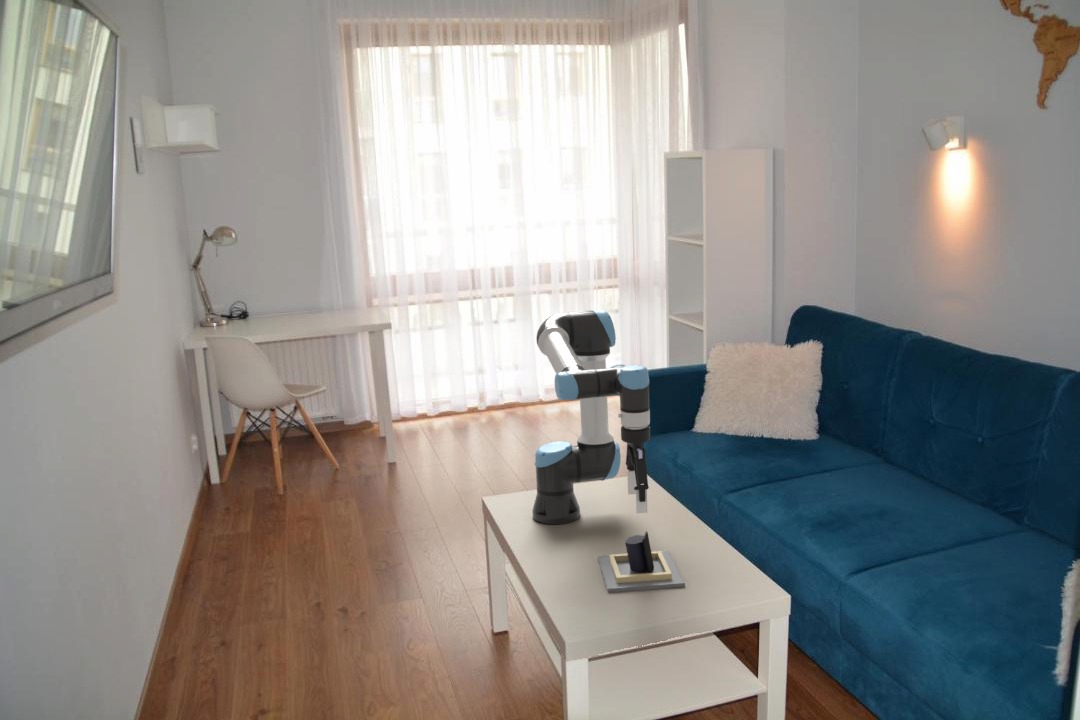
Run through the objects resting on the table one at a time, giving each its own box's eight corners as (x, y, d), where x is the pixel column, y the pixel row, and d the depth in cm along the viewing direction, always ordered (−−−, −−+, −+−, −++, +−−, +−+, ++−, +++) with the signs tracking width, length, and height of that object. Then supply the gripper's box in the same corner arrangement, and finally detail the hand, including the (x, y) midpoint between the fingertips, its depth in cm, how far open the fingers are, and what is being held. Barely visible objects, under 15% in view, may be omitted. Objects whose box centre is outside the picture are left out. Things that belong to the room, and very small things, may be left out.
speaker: (661, 567, 231) (655, 531, 229) (650, 576, 226) (644, 539, 224) (637, 563, 235) (631, 528, 233) (626, 572, 231) (620, 536, 229)
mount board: (598, 559, 240) (597, 551, 240) (669, 554, 241) (668, 546, 241) (607, 592, 221) (607, 583, 220) (684, 586, 222) (684, 577, 221)
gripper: (614, 413, 235) (616, 487, 239) (628, 440, 211) (630, 521, 215) (641, 412, 235) (643, 485, 240) (658, 438, 211) (660, 519, 215)
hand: (637, 502), depth 227 cm, fingers open, 13 cm apart
